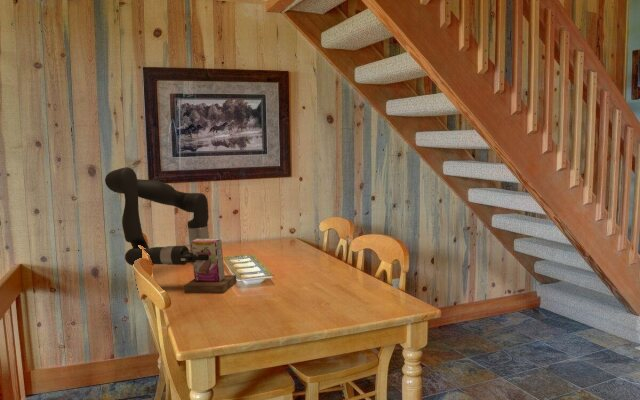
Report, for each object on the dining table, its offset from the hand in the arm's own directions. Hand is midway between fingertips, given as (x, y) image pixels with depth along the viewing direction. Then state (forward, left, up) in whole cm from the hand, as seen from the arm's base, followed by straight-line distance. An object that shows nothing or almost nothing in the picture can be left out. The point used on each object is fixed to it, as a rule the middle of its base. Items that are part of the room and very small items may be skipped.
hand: (212, 254), depth 209 cm
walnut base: (0, -2, -13) cm, 13 cm away
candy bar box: (0, -2, -10) cm, 11 cm away
